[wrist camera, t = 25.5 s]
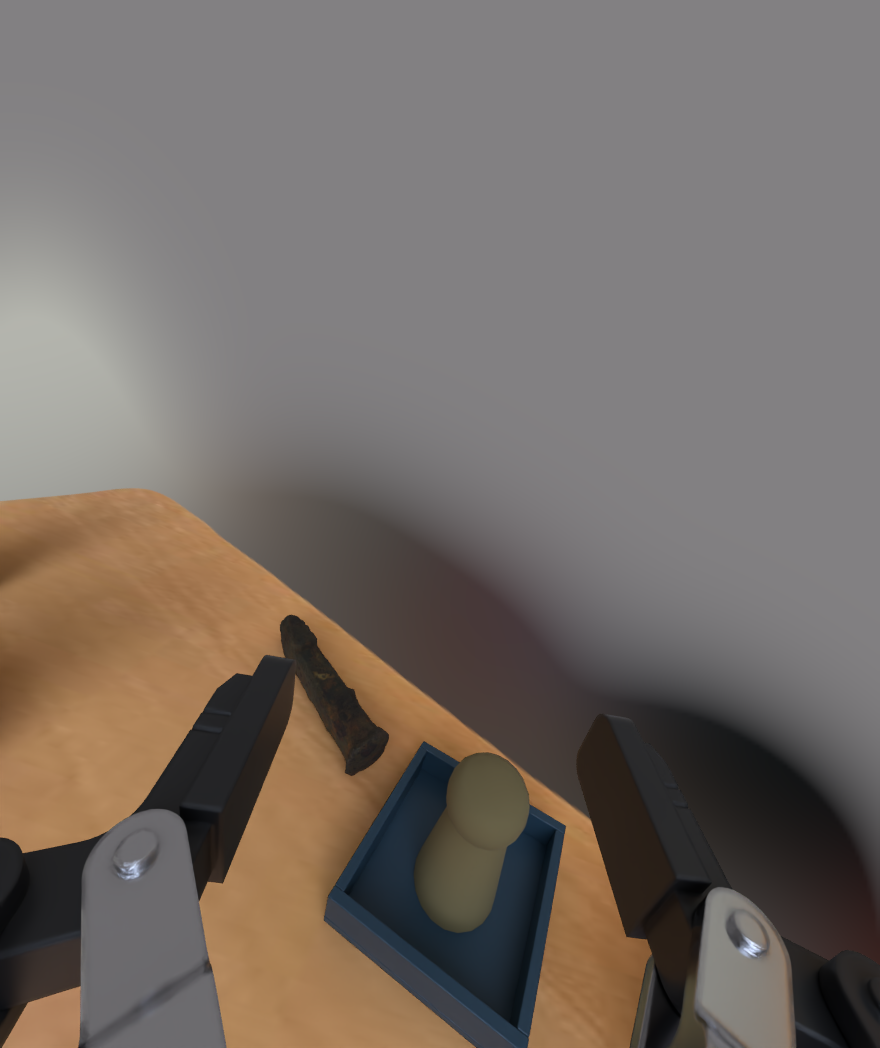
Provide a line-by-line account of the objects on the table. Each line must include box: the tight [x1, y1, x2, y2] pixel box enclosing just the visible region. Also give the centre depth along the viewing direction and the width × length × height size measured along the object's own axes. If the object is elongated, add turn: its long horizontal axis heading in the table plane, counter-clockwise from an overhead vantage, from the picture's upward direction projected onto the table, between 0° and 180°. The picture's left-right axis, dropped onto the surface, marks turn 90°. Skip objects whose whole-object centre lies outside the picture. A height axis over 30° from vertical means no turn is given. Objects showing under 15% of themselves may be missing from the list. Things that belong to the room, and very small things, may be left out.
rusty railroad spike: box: [280, 615, 389, 776], centre depth 41 cm, size 19×4×5 cm, turn 38°
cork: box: [414, 753, 530, 933], centre depth 27 cm, size 6×6×11 cm
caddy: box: [324, 741, 566, 1048], centre depth 29 cm, size 13×13×3 cm
